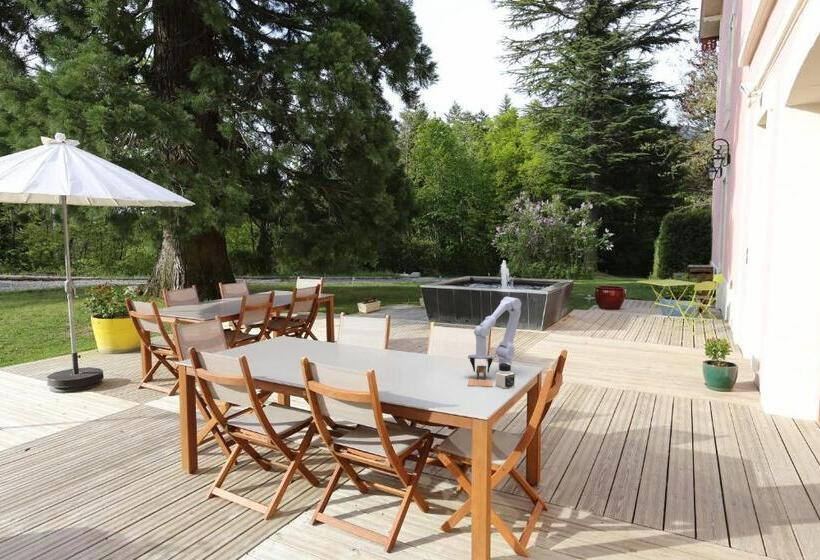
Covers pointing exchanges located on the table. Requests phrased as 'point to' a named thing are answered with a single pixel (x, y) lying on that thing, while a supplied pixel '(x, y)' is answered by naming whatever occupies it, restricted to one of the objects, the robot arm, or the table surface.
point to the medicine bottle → (505, 376)
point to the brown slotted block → (481, 371)
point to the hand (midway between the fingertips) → (481, 371)
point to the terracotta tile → (480, 383)
